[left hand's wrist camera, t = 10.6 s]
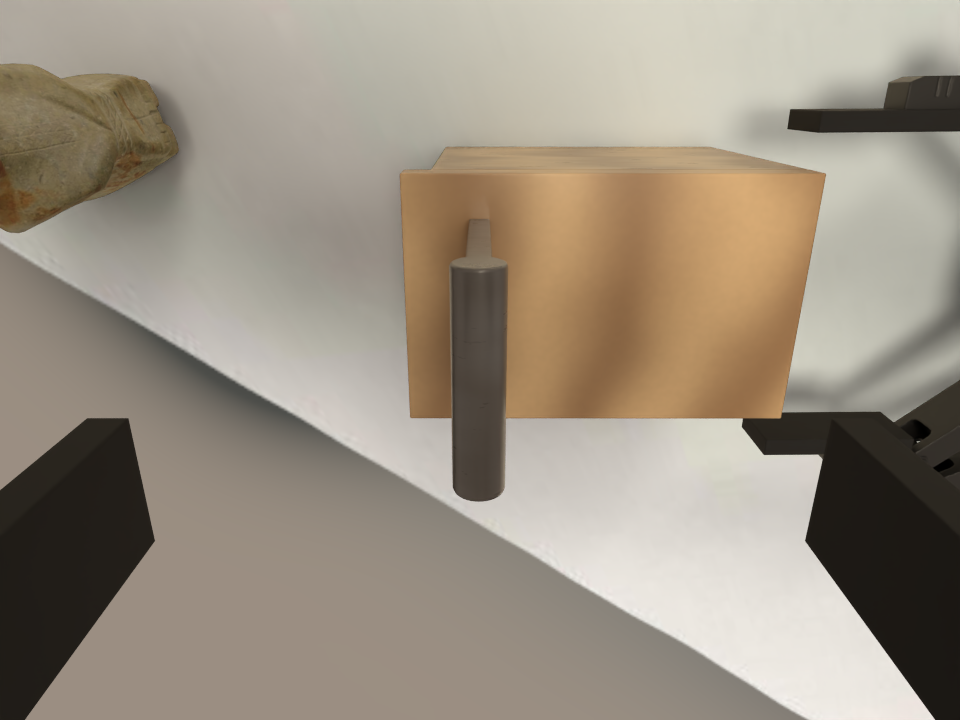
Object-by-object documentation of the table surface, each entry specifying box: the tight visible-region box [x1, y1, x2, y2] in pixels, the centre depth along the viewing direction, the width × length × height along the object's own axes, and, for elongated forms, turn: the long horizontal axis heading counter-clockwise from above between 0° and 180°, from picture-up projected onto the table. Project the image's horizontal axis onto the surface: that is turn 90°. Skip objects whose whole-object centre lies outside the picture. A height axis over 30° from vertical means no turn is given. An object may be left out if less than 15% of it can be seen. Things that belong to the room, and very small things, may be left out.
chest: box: [431, 147, 807, 170], centre depth 30 cm, size 13×9×10 cm
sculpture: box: [0, 64, 179, 233], centre depth 25 cm, size 6×7×15 cm
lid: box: [400, 170, 826, 501], centre depth 21 cm, size 14×9×9 cm, turn 90°
